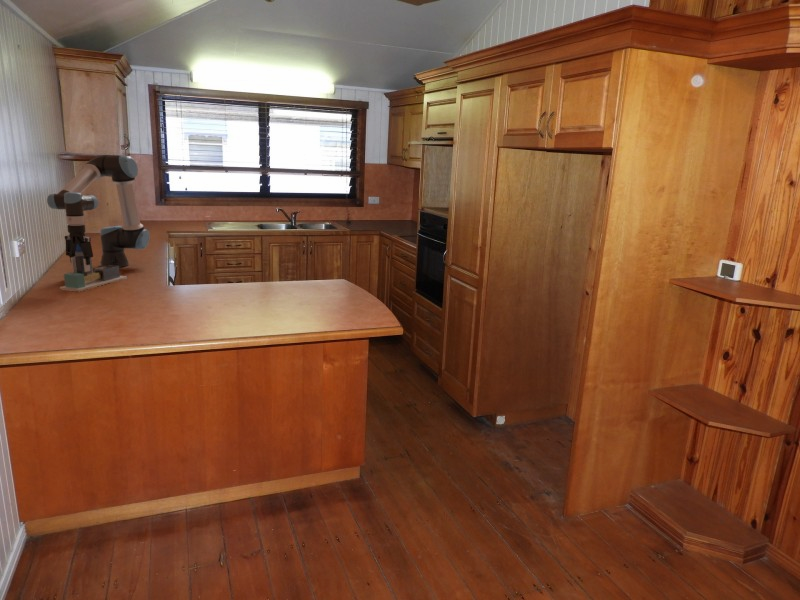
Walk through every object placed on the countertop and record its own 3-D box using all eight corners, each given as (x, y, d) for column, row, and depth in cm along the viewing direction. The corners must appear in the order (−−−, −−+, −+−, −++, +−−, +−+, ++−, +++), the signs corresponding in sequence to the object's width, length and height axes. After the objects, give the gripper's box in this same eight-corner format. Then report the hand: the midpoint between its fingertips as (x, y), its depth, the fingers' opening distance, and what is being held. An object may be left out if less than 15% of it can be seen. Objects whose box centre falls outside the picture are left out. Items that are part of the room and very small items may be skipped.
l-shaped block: (99, 276, 295) (97, 252, 291) (104, 277, 294) (102, 252, 291) (70, 284, 277) (67, 258, 274) (75, 284, 277) (72, 258, 273)
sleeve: (110, 275, 304) (109, 264, 302) (120, 276, 302) (118, 265, 301) (94, 279, 294) (93, 268, 292) (104, 280, 292) (103, 269, 290)
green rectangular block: (72, 285, 281) (70, 272, 280) (85, 286, 279) (83, 273, 277) (65, 286, 278) (63, 274, 276) (78, 288, 275) (77, 275, 274)
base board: (109, 276, 307) (109, 274, 306) (127, 278, 304) (127, 276, 303) (59, 289, 277) (59, 287, 277) (79, 291, 274) (79, 289, 274)
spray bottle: (96, 276, 307) (91, 230, 301) (87, 279, 298) (82, 232, 292) (80, 275, 307) (75, 229, 301) (71, 279, 299) (65, 232, 292)
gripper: (53, 224, 274) (59, 270, 280) (86, 226, 269) (91, 273, 275) (66, 222, 281) (71, 267, 287) (98, 225, 276) (103, 270, 282)
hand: (81, 270), depth 281 cm, fingers open, 7 cm apart
